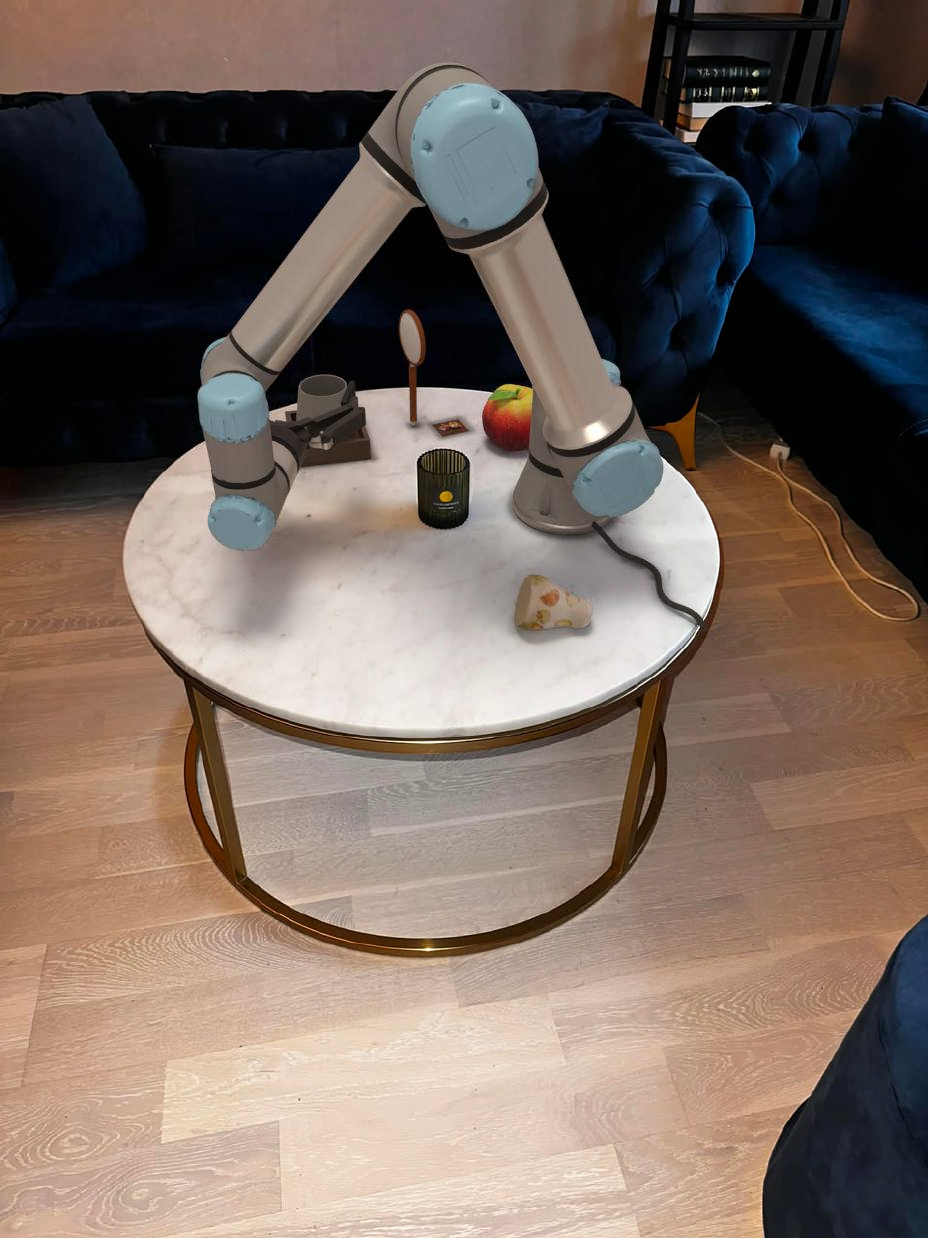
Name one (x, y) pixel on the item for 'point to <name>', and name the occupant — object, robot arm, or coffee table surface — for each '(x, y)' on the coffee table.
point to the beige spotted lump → (549, 606)
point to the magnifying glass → (412, 353)
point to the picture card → (450, 427)
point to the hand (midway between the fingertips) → (307, 386)
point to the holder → (338, 448)
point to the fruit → (509, 417)
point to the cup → (319, 396)
